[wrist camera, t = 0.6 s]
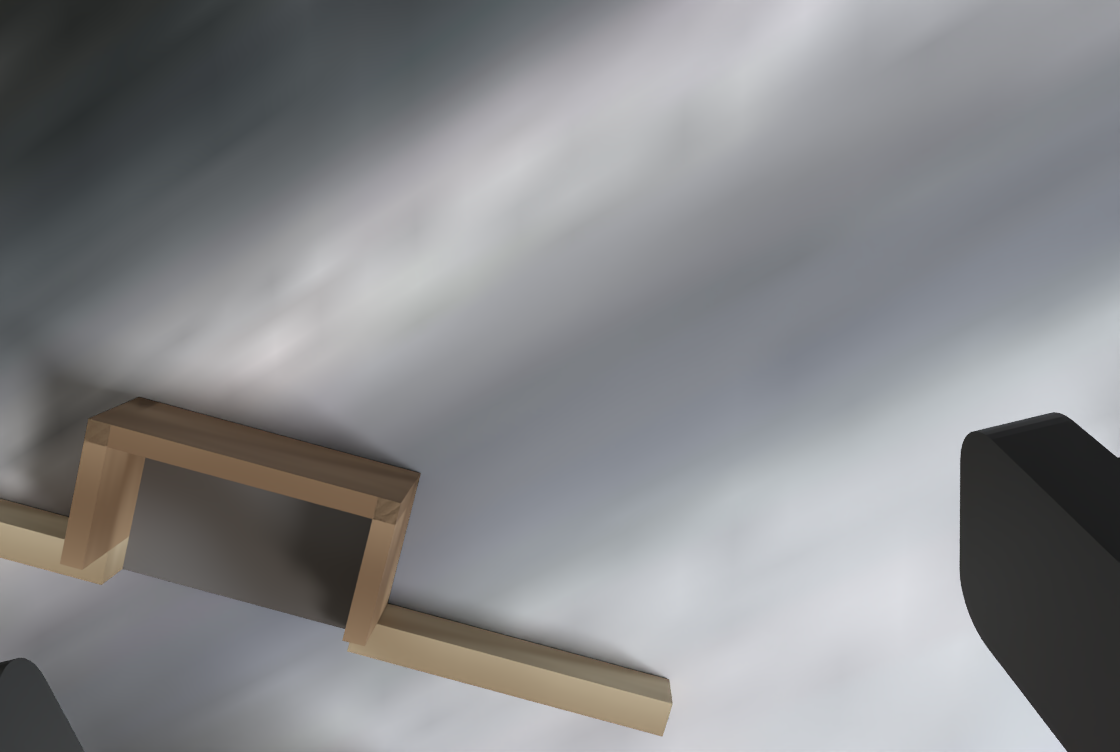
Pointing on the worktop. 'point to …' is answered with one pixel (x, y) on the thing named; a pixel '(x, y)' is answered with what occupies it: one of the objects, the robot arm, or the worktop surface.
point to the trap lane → (291, 550)
